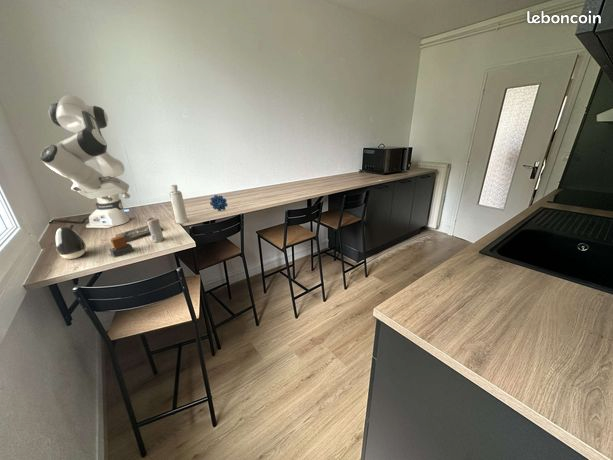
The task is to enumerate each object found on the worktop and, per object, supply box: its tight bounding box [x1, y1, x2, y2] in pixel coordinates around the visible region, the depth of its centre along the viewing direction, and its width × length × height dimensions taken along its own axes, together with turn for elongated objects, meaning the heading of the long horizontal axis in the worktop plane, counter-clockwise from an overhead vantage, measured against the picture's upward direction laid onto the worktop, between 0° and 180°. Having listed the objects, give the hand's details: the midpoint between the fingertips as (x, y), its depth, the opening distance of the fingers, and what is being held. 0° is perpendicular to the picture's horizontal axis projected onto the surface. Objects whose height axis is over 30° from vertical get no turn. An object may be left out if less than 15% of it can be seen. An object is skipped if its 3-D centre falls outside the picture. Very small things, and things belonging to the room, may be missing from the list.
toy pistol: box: [115, 224, 164, 243], centre depth 143 cm, size 20×12×2 cm, turn 143°
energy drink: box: [146, 217, 165, 243], centre depth 132 cm, size 5×5×12 cm
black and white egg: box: [54, 224, 87, 260], centre depth 117 cm, size 10×10×15 cm
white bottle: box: [169, 184, 189, 224], centre depth 155 cm, size 7×7×25 cm
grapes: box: [209, 194, 228, 212], centre depth 174 cm, size 12×7×12 cm, turn 122°
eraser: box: [109, 236, 134, 258], centre depth 121 cm, size 8×4×8 cm, turn 143°
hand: (119, 198), depth 115 cm, fingers open, 8 cm apart
